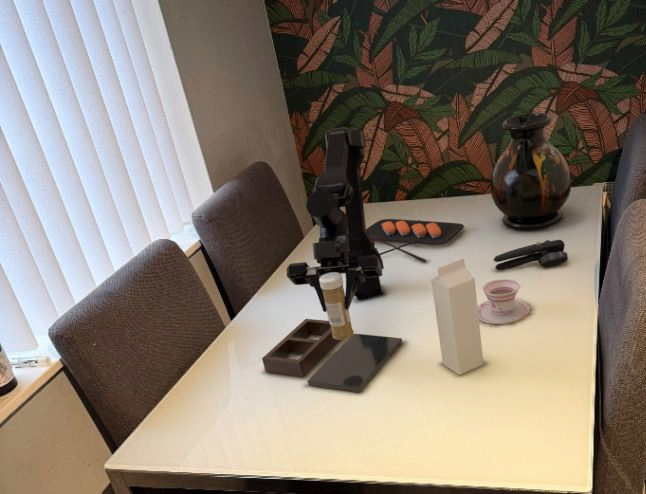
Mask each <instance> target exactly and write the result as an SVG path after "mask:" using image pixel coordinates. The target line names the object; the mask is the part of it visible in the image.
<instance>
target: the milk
mask: <svg viewBox="0 0 646 494" xmlns="http://www.w3.org/2000/svg"><path fill="white" fill-rule="evenodd" d="M430 281H431V288H432V294H433V302H434V310H435V316H436V324H437V332H438V340H439V347H440V353H441V360H442V365H443V366H445V367H447V368H448V369H449V370H451V371H453V372H454V373H455V374H457V375H458V376H461V375H462V374H465V373H467V372H469V371H472V370H474V369H476V368H479V367H481V366H483V365H484V356H483V346H482V335H481V327H480V320H479V316H478V307H479V306H478V298H477V288H476V279H475V277H474V275H473V274H472V273H471V271H470V270H469V269H468V268H467V266H466V262H465V259H464V258H460V259H457V260H455V261H452V262H450V263H447V264H444V265H442V266H440V267H438V268H437V276H435V277H433V278H431V280H430Z"/></svg>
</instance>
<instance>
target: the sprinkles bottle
mask: <svg viewBox="0 0 646 494" xmlns="http://www.w3.org/2000/svg"><path fill="white" fill-rule="evenodd" d="M319 281H320V286H321V288H322V291H323V295H324V300H325V306H326V314H327V319H328V321H329V323H330V326H331V330H332V337H333V338H334V339H336V340H340V341H344V340H348V339H349V338H350V337H351V336H352V335H353V334H354V330H353V326H352V322H351V315H350V311H349V310H350V309H349V310H346V308H345V289H344V279H343V276H342V274H340V273H337V272H331V273H327V274H324V275H322V276H321V277H320V279H319Z"/></svg>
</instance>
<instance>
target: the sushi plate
mask: <svg viewBox="0 0 646 494" xmlns="http://www.w3.org/2000/svg"><path fill="white" fill-rule="evenodd" d="M464 229H465V225H464V224H462V223H458V222H447V221H446V222H444V221H430V220H415V219H414V220H413V219H399V218H384V219H380V220H378V221H376V222H374V223H373V224H371V225H370V226H368V227H366V231H367V233H368V234H369V235H370V237H371V238H372V239H373V241H378V242H380V243H382V244H385V245H387V246H388V247H391V248H390V249H387V250H385V251H382V252H379V254H380V256H382V255H385V254H387V253H390V252H393V251H399V252H402V253H404V254H405V255H408V256H410V257H412V258H414V259H416V260H418V261H420V262H423V263H427V260H426V259H425V258H423V257H420V256H418V255H416V254H414V253H412V252H409V251H406V250H404V249H402V248H403V247H406V246H409V245H412V244H417V245H428V246H429V245H430V246H431V245H432V246H437V245H443V244H446V243H448V242H450V241H451V240H452V239H454V238H455V237H456V236H457V235H459V234H460V232H462V230H464ZM389 242H391V243H392V242H395V243H404V244H402V245H399V246H395V245H393V244H391V243H389Z"/></svg>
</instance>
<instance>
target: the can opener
mask: <svg viewBox="0 0 646 494" xmlns="http://www.w3.org/2000/svg"><path fill="white" fill-rule="evenodd" d="M565 246H566V244H565V242H564V240H562V239H554V240H549V239H546V240H544V241H543V242H541V241H537V242H536V243H535V244H534V243H533V244H530V245H525V246H521V247H519V248H518V247H517V248H515V249H512V250H509V251H506V252H503V253H500V254H497V255H496V256H495V257H494V258H493V262H495V263H497V264H496V265H495V267H494V268H495V269H496V270H497V271H503V270H509V269H514V268H516V267H517V268H518V267H520V266H523V265H526V264H530V263H533V262H537V263H538V264H539V265H540V266H541V267H543V268H553V267H557V266H559V265H560V266H561V265H562V264H564V263H566V262H567V261H568V260H569V257H568V253H567V252H566V251H565Z"/></svg>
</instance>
